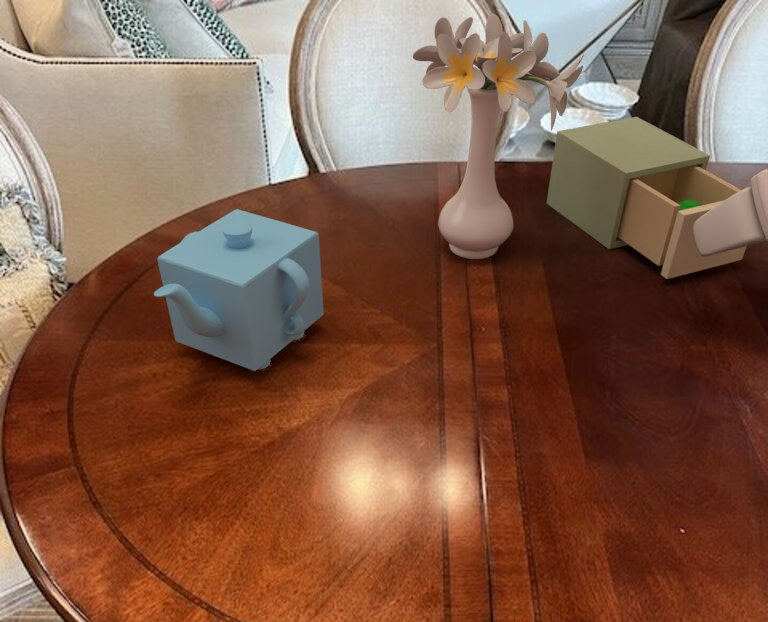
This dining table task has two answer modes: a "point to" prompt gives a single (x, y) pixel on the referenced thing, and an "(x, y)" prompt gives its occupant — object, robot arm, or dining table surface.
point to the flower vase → (487, 118)
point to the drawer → (673, 218)
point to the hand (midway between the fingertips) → (733, 240)
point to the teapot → (243, 287)
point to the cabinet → (610, 171)
